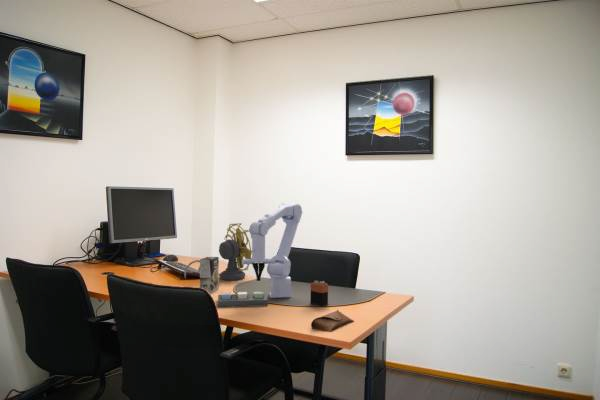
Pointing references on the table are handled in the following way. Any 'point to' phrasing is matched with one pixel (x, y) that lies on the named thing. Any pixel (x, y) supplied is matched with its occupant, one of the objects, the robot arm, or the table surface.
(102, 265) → the table surface
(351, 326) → the table surface
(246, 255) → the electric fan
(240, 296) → the ivory button
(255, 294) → the green button
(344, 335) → the table surface
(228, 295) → the blue button
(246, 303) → the button panel
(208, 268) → the coffee box
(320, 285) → the battery
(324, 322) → the sunglasses case
